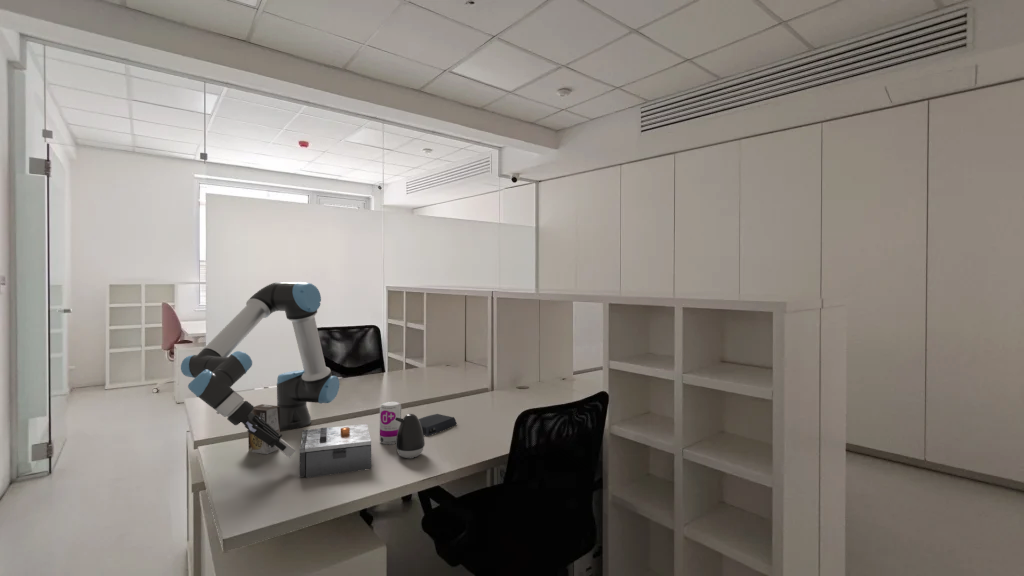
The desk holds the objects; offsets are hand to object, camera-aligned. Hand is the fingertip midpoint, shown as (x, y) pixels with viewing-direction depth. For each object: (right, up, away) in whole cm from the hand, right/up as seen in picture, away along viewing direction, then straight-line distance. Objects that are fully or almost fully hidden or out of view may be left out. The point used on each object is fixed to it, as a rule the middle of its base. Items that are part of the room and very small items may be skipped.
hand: (292, 453), depth 156 cm
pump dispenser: (+37, -5, +12) cm, 39 cm away
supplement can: (+26, -5, +27) cm, 38 cm away
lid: (+13, -4, +5) cm, 14 cm away
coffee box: (-18, -5, +16) cm, 25 cm away
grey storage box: (+14, -5, +5) cm, 15 cm away
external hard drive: (+39, -5, +45) cm, 60 cm away
